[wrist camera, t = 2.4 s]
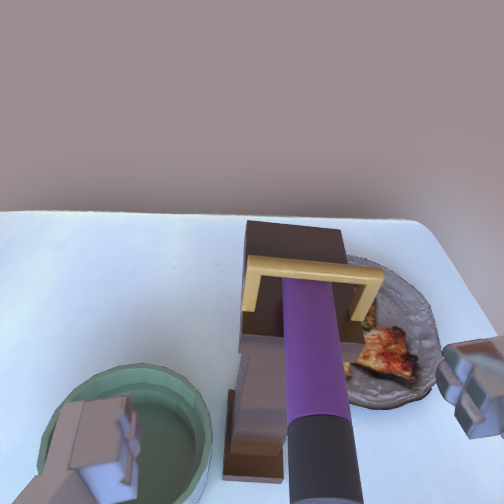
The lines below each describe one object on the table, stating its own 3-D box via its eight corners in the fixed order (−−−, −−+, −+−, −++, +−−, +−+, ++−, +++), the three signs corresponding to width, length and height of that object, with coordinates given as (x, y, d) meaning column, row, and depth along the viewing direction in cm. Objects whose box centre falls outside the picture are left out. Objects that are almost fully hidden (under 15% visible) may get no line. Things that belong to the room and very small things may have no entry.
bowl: (43, 429, 41) (26, 400, 37) (177, 374, 47) (177, 343, 43) (72, 593, 32) (54, 581, 28) (233, 499, 39) (239, 477, 34)
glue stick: (351, 517, 16) (374, 501, 14) (284, 513, 16) (297, 497, 14) (323, 294, 24) (336, 263, 22) (278, 290, 24) (286, 258, 22)
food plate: (453, 431, 46) (467, 418, 44) (256, 396, 47) (260, 381, 44) (416, 278, 64) (425, 262, 62) (275, 253, 65) (279, 237, 62)
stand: (287, 489, 40) (393, 300, 19) (215, 485, 39) (247, 286, 19) (283, 395, 47) (357, 185, 27) (223, 391, 47) (251, 173, 26)
